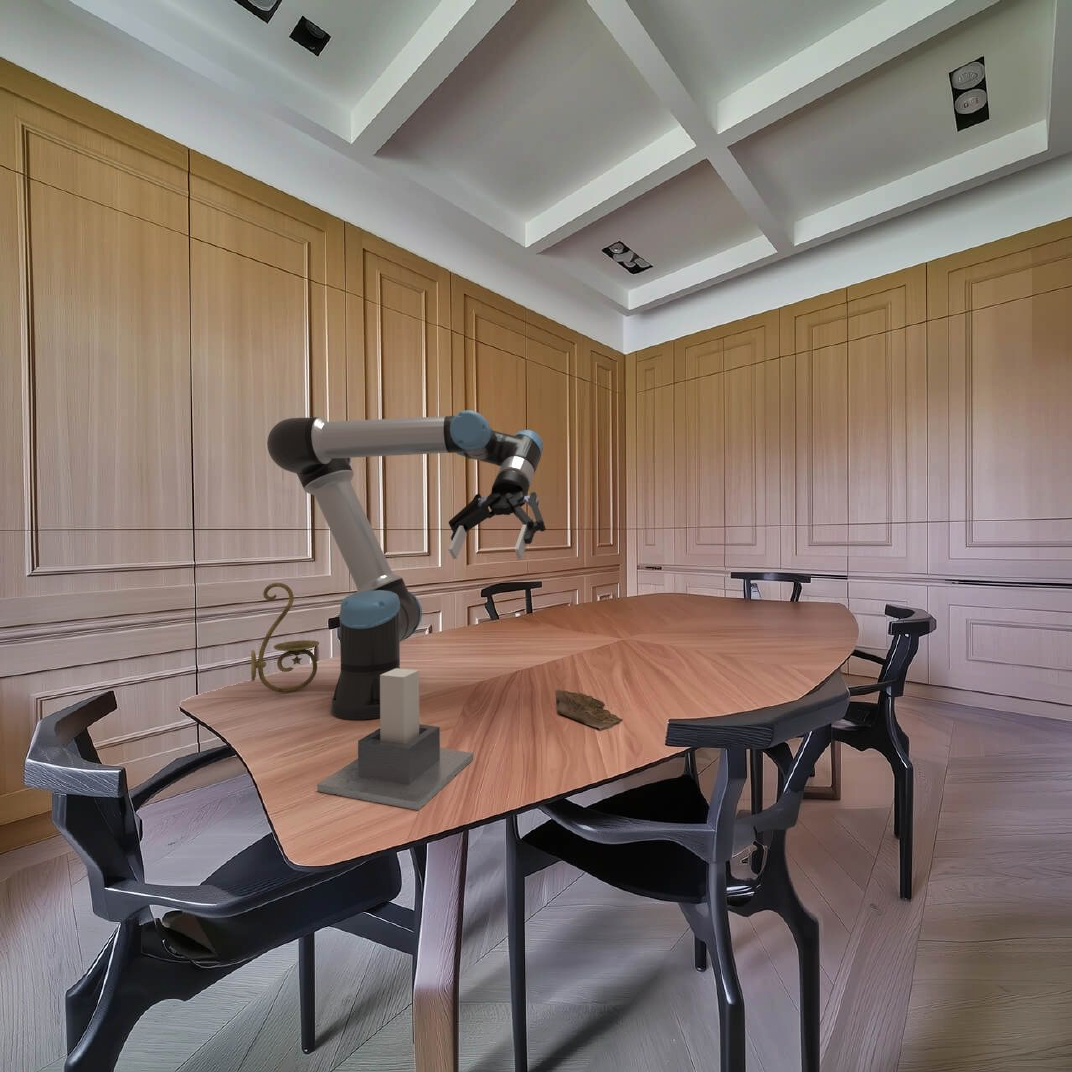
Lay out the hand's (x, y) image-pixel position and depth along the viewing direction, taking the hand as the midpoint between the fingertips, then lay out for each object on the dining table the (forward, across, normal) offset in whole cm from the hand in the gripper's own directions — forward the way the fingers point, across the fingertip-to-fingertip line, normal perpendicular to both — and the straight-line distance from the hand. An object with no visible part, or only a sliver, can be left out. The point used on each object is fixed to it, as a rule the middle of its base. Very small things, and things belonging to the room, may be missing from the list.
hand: (484, 554), depth 98 cm
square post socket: (+39, +3, -6) cm, 40 cm away
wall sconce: (+20, +51, -25) cm, 60 cm away
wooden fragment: (+13, -15, -32) cm, 38 cm away
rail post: (+38, +3, -5) cm, 39 cm away
